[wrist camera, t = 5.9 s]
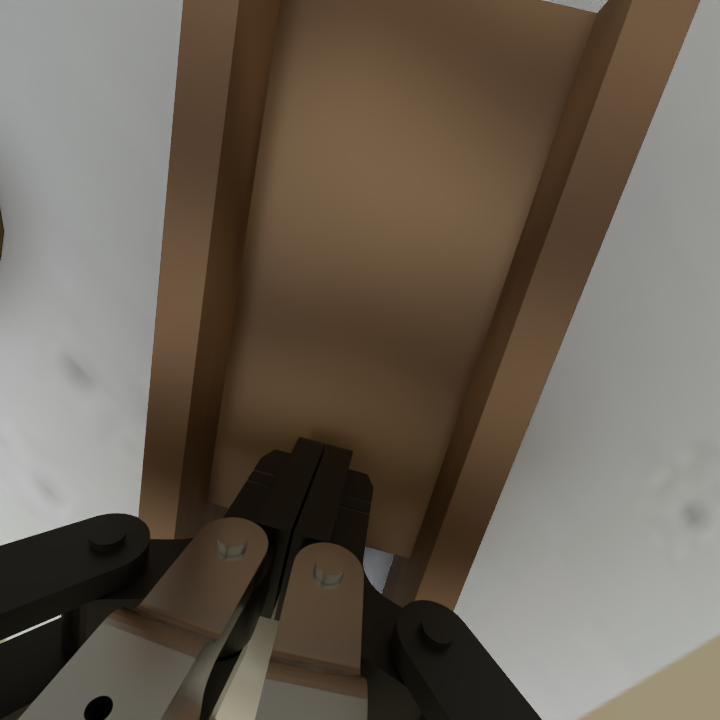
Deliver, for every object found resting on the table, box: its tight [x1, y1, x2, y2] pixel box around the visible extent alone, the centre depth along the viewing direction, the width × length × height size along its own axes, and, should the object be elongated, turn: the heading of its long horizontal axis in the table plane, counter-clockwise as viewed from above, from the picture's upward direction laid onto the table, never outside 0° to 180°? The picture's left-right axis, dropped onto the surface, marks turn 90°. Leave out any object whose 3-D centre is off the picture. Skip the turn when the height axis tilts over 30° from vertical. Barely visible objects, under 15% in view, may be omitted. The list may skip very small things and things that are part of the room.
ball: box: [215, 598, 279, 720], centre depth 12 cm, size 5×5×5 cm
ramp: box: [138, 0, 700, 720], centre depth 12 cm, size 22×8×4 cm, turn 166°
